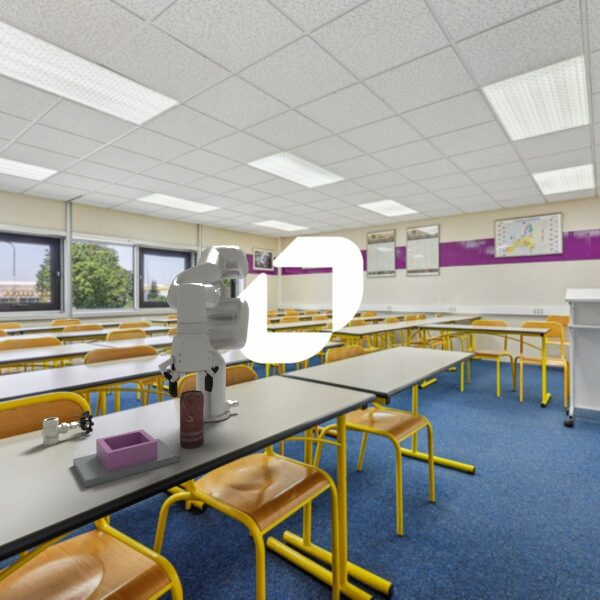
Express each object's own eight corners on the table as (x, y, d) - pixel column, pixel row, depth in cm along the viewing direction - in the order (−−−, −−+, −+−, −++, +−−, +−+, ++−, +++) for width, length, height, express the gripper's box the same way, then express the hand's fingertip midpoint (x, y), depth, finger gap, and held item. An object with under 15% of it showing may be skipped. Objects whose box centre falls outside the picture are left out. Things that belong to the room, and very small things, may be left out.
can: (203, 448, 101) (203, 394, 101) (178, 449, 100) (178, 395, 100) (205, 439, 107) (205, 389, 107) (181, 441, 106) (181, 390, 106)
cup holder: (158, 444, 104) (158, 423, 104) (179, 461, 93) (178, 438, 93) (73, 465, 91) (73, 442, 91) (85, 487, 80) (85, 461, 80)
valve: (47, 448, 102) (94, 435, 111) (46, 423, 101) (94, 412, 111) (37, 442, 106) (84, 430, 115) (37, 418, 106) (83, 408, 115)
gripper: (214, 327, 112) (214, 387, 111) (154, 330, 101) (153, 396, 100) (227, 328, 106) (227, 391, 105) (164, 331, 95) (164, 401, 94)
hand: (191, 393), depth 103 cm, fingers open, 9 cm apart
